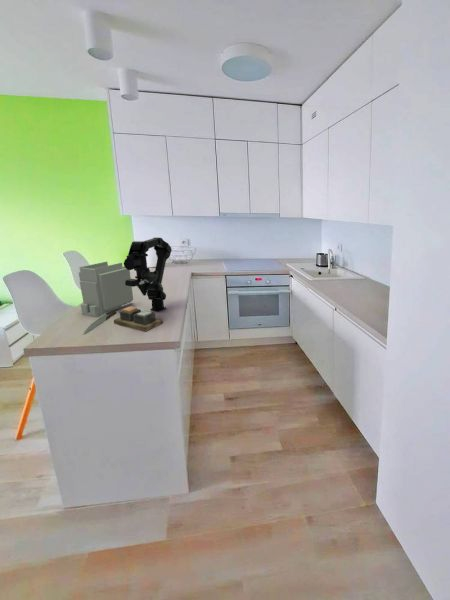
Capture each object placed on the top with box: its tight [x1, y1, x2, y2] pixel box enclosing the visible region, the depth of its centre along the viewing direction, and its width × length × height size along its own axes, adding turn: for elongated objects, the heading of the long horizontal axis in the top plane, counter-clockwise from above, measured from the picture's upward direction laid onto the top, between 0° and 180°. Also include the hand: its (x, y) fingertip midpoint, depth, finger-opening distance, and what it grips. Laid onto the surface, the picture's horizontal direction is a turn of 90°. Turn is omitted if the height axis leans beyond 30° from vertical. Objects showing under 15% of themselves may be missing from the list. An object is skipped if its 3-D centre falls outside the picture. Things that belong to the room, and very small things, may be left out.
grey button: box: [137, 310, 152, 317], centre depth 142 cm, size 5×5×4 cm
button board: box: [113, 308, 164, 333], centre depth 145 cm, size 12×22×6 cm, turn 59°
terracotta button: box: [122, 306, 138, 313], centre depth 146 cm, size 5×5×4 cm
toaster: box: [78, 261, 134, 318], centre depth 166 cm, size 17×27×26 cm, turn 153°
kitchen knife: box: [82, 310, 117, 336], centre depth 146 cm, size 4×1×30 cm
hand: (144, 295), depth 151 cm, fingers closed
